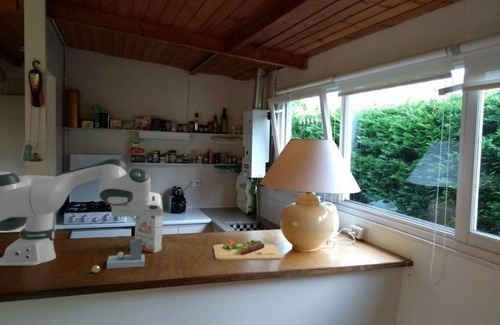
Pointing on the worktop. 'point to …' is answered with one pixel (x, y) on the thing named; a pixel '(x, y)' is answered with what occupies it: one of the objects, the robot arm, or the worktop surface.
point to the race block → (136, 249)
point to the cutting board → (246, 251)
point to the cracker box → (150, 233)
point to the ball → (120, 255)
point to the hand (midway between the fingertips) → (137, 219)
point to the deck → (124, 262)
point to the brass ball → (95, 268)
